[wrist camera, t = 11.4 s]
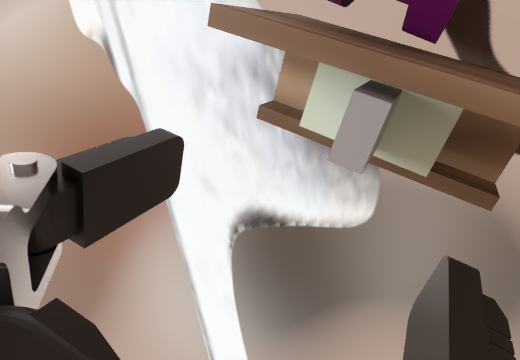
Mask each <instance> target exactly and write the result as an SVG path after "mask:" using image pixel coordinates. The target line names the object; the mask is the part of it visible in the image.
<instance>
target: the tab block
mask: <svg viewBox="0 0 520 360" xmlns="http://www.w3.org/2000/svg"><path fill="white" fill-rule="evenodd" d="M462 111H463V108H460V107H457V106H454V105H451V104H448V103H445V102H441V101H438V100H435V99H432V98H429V97H426V96H423V95H420V94H417V93H414V92H411V91H407V90H404V89H401V88H398V87H395V86H392V85H389V84H386V83H383V82H380V81H376V80H373V79H370V78H367V77H364V76H361V75H358V74H355V73H352V72H349V71H346V70H342V69H339V68H336V67H333V66H330V65H327V64H324V63H321V62H319V65H318V68H317V72H316V75H315V78H314V81H313V84H312V87H311V90H310V94H309V97H308V100H307V103H306V106H305V109H304V112H303V116H302V119H301V122H300V125H299V126H301V127H304V128H306V129H309V130H311V131H314V132H316V133H318V134H321V135H323V136H326V137H328V138H331V139H333V140H334V143H333V145H332V148H331V151H330V153H329V156H328V159H327V160H329V161H331V162H334V163H336V164H338V165H341V166H343V167H346V168H348V169H350V170H353V171H355V172H357V173H360V174H362V172H363V170H364V169H365V167H366V165H367V164H368V162H369V161H370V159H371V157H372V156H375V157H378V158H380V159H383V160H385V161H388V162H390V163H393V164H395V165H397V166H400V167H402V168H405V169H407V170H410V171H412V172H415V173H417V174H420V175H422V176H425V177H427V175H428V173H429V171H430V169H431V168H432V166H433V164H434V162H435V160H436V159H437V157H438V155H439V153H440V151H441V149H442V148H443V146H444V144H445V142H446V140H447V138H448V137H449V135H450V133H451V131H452V129H453V127H454V126H455V124H456V122H457V120H458V118H459V117H460V115H461V113H462Z"/></svg>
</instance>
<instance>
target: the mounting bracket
mask: <svg viewBox="0 0 520 360" xmlns="http://www.w3.org/2000/svg"><path fill="white" fill-rule="evenodd" d="M328 1H331V2H333V3H335V4H338V5H340V6H343V7H347V6H349V5H350V4H351V3H352V2H353V1H354V0H328ZM397 1H400V2H403V3H405V4H408V9H407V13H406V16H405V19H404V23H403V27H402V31H405V32H407V33H409V34H412V35H415V36H417V37H419V38H422V39H424V40H427V41H429V42H432V43H434V44H435V43H436V42H437V40H438V39H439V37H440V35H441V34H442V32H443V30H444V29H445V27H446V25H447V23H448V22H449V20H450V18H451V17H452V15H453V13H454V11H455V10H456V8H457V6H458V4H459V3H460V1H461V0H397Z"/></svg>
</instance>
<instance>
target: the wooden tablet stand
mask: <svg viewBox="0 0 520 360" xmlns="http://www.w3.org/2000/svg"><path fill="white" fill-rule="evenodd" d="M208 26H209V27H212V28H216V29H219V30H222V31H225V32H228V33H231V34H234V35H237V36H240V37H243V38H247V39H250V40H253V41H256V42H259V43H262V44H265V45H268V46H271V47H274V48H277V49H281V50H284V51H286V53H285V56H284V60H283V64H282V68H281V72H280V76H279V80H278V84H277V87H276V91H275V95H274V99H273V100H272V101H270V102H267V103H264V104H262V105H259V110H258V114H257V118H258V119H260V120H263V121H265V122H268V123H270V124H273V125H275V126H278V127H281V128H283V129H286V130H288V131H291V132H293V133H296V134H298V135H301V136H303V137H306V138H308V139H311V140H313V141H316V142H318V143H321V144H323V145H326V146H328V147H331V148H332V145H333V143H334V140H333V139H331V138H328V137H326V136H323V135H321V134H318V133H316V132H314V131H311V130H309V129H306V128H304V127H301V126H299V125H300V122H301V119H302V116H303V112H304V109H305V106H306V103H307V100H308V97H309V94H310V90H311V87H312V84H313V81H314V78H315V75H316V72H317V68H318V65H319V62H321V63H324V64H327V65H330V66H333V67H336V68H339V69H342V70H346V71H349V72H352V73H355V74H358V75H361V76H364V77H367V78H370V79H373V80H376V81H380V82H383V83H386V84H389V85H392V86H395V87H398V88H401V89H404V90H407V91H411V92H414V93H417V94H420V95H423V96H426V97H429V98H432V99H435V100H438V101H441V102H445V103H448V104H451V105H454V106H457V107H460V108H463V111H462V113H461V115H460V117H459V118H458V120H457V122H456V124H455V126H454V127H453V129H452V131H451V133H450V135H449V137H448V138H447V140H446V142H445V144H444V146H443V148H442V149H441V151H440V153H439V155H438V157H437V159H436V160H435V162H434V164H433V166H432V168H431V169H430V171H429V173H428V175H427V177H425V176H422V175H420V174H417V173H415V172H412V171H410V170H407V169H405V168H402V167H400V166H397V165H395V164H393V163H390V162H388V161H385V160H383V159H380V158H378V157H375V156H372V157H371V159H370V161H369V163H371V164H374V165H376V166H379V167H381V168H384V169H386V170H389V171H391V172H394V173H397V174H399V175H401V176H404V177H406V178H409V179H411V180H414V181H416V182H419V183H421V184H424V185H427V186H429V187H432V188H434V189H437V190H439V191H442V192H444V193H447V194H449V195H452V196H454V197H457V198H459V199H462V200H464V201H467V202H469V203H472V204H474V205H477V206H479V207H482V208H484V209H487V210H489V211H491V210H492V209H493V207H494V206H495V204H496V203H497V201H498V200H499V198H500V197H499V194H498V191H497V188H496V185H495V182H496V181H497V179H498V178H499V176H500V175H501V173H502V171H503V170H504V168H505V167H506V165H507V164H508V162H509V160H510V159H511V157H512V156H513V154H514V153H515V151H516V150H517V148H518V146H519V145H520V78H519V77H516V76H512V75H509V74H505V73H502V72H498V71H495V70H491V69H488V68H484V67H481V66H477V65H474V64H470V63H467V62H463V61H460V60H456V59H453V58H449V57H445V56H442V55H439V54H435V53H431V52H428V51H424V50H421V49H417V48H414V47H411V46H407V45H404V44H400V43H396V42H393V41H390V40H386V39H383V38H379V37H376V36H372V35H369V34H365V33H361V32H358V31H355V30H351V29H347V28H344V27H340V26H337V25H333V24H330V23H326V22H323V21H319V20H316V19H312V18H309V17H305V16H302V15H297V14H289V13H282V12H275V11H268V10H260V9H253V8H245V7H238V6H230V5H223V4H215V3H211V7H210V14H209V20H208Z"/></svg>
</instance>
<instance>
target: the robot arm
mask: <svg viewBox="0 0 520 360" xmlns="http://www.w3.org/2000/svg"><path fill="white" fill-rule="evenodd" d="M183 150H184V141H183V139H182V138H181V137H180V136H178V135H175V134H173V133H171V132H169V131H166V130H164V129H161V128H159V129H155V130H152V131H149V132H146V133H144V134H141V135H138V136H134V137H126V138H121V139H118V140H116V141H112V142H110V144H108V143H106V144H103V145H101V146H99V147H98V148H96V147H94V148H92V149H88V150H85V151H82V152H79V153H76V154H73V155H70V156H67V157H64V158H61V159H58V160H54V159H53V158H52V157H50V156H48V155H45V154H41V153H35V152H17V153H10V154H6V155H3V156H0V360H120V359H119V357H118V356H117V354H116V353H115V352H114V350H113V349H112V348H111V346H110V345H109V344H108V342H107V341H106V339H105V338H104V337H103V335H102V334H101V333H100V331H99V330H98V329H97V327H96V326H95V324H93V323H92V322H90V321H89V320H87V319H86V318H85V317H83V316H82V315H80V314H79V313H77V312H76V311H75V310H73V309H72V308H70V307H69V306H68V305H66V304H65V303H63V302H62V301H61V300H59V299H57V298H55V299H54V300H52V301H51V302H49V303H48V304H46V305H45V306H43V307H42V308H41V309H39V310H38V308H39V304H40V302H41V299H42V297H43V295H44V292H45V290H46V288H47V285H48V283H49V281H50V278H51V276H52V274H53V271H54V269H55V267H56V264H57V262H58V260H59V257H60V255H61V253H62V242H63V241H65V240H67V239H70V240H72V241H73V242H75V243H77V244H78V245H80V246H81V247H83V248H86V247H88V246H89V245H91V244H93V243H94V242H96V241H98V240H99V239H101V238H103V237H104V236H106V235H108V234H109V233H111V232H113V231H114V230H116V229H118V228H119V227H121V226H123V225H124V224H126V223H128V222H129V221H131V220H133V219H134V218H136V217H138V216H139V215H141V214H143V213H144V212H146V211H148V210H149V209H151V208H153V207H154V206H156V205H158V204H159V203H161V202H163V201H164V200H166V199H168V198H169V197H171V196H172V195H173V193H174V192H175V191H176V189H177V187H178V184H179V180H180V173H181V165H182V158H183ZM510 340H511V334H510V329H509V325H508V320H507V318H506V317H505V315H504V314H503V312H502V310H501V309H500V308H499V306H498V304H497V303H496V301H495V300H494V299H492V298H490V297H488V296H486V295H483V294H482V286H481V279H480V272H479V271H478V269H475V268H473V267H471V266H469V265H467V264H464V263H462V262H460V261H458V260H455V259H453V258H451V257H449V256H445V257H443V258H442V260H441V261H440V262H439V264H438V265H437V267H436V269H435V270H434V272H433V274H432V275H431V277H430V278H429V280H428V281H427V283H426V285H425V286H424V288H423V289H422V291H421V293H420V294H419V296H418V297H417V299H416V301H415V303H414V305H413V307H412V310H411V312H410V316H409V319H408V325H407V333H406V340H405V348H404V356H403V360H516V358H515V357H514V354H515V353H514V348H513V344H512V341H510Z"/></svg>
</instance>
